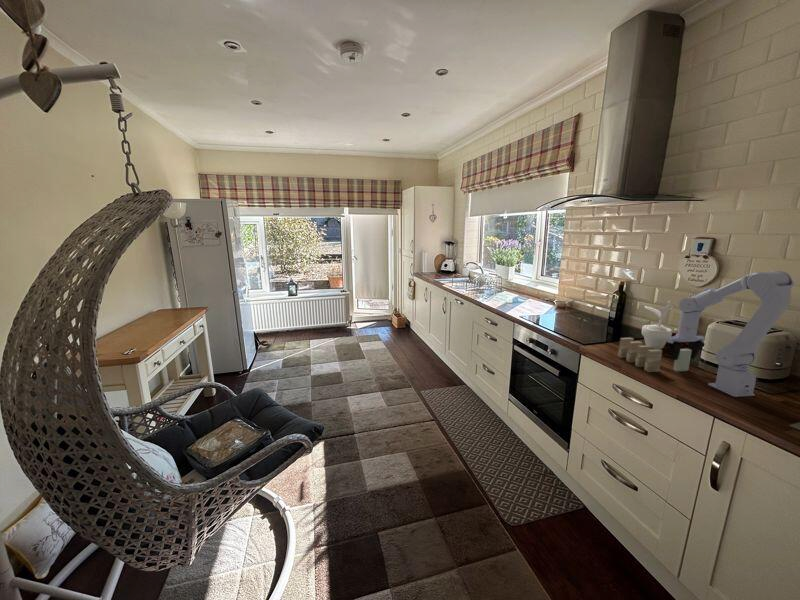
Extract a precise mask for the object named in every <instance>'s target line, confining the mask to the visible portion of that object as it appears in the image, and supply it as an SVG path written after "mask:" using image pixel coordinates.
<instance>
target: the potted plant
mask: <svg viewBox="0 0 800 600" xmlns="http://www.w3.org/2000/svg"><path fill="white" fill-rule="evenodd" d="M665 302H667V305H665V306H663V307H662V309H661V310H660V309H656V307H655V308H654V307H651V306H647V305H644V309H646V310H648V311H650V312H651V313H652V314H653V315H654V317H657V318H658V319H659V320H658V323H657V324H655V323H654V324H645V325H642V326H641V327H642V328H641V335H642V336H643V339H644V343H645V345H650V346H652V349H659V350H662V349H663V348H665V345H667V343H666V341H667V338H668V337H673V336H672V335H673V329H672V328H670V327H666V326H664V325H663V324H662V323H663V320H664V317H666V316H667V315H669V314H668V313H669V307H671V309H673V308H674V306H673V304H672V301H671V298H670V297H669V298H668V300H667V301H666V300H665ZM670 303H671V304H670Z"/></svg>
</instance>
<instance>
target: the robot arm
mask: <svg viewBox="0 0 800 600" xmlns="http://www.w3.org/2000/svg"><path fill="white" fill-rule="evenodd" d="M795 284H796V283H795V282H794V280H793V278H792V276H791V275H790V273H788V272H786V271H783V270H775V271H774V270H773V271H757V272H753V273H750V274H747V275H744V276H742V277H741V278H739V279H737V280H734V281H732V282H729V283H728V284H726V285H723V286H722V287H720V288H713V287H712V288H711V287H709V288H704V290H703V291H702V292H700V293H694V294H692V296H691V297H683V298H682V299H680V301H679V303H678V308H679V309H680V312H681V313H680V317H679V324H678V329H677V333H676V334H675V335H673V336H671V337H668V338H667V341H666V345H667V346H668V349H669V353H670V355H669V356H670V359H672V360H674V361H675V360H677V358H678V355H679V352H680V350H681V349H683V344H680V343H687V345H688V346H687V349H690V350H692V352H691V358H690V360H694V359H695V358H696V357H697V354H698V353H699V351H700V350H701V349H702V348H703V347H705V345H706V343H704V342H705V339H706V337H705V336H702V335H697V333H698V328H699V322H700V318H701V315H702V312H703V311H704V310H706V308H709V307H713V306H714V305H717V304H719V303H721V302H723V301H724V298H725V297H727V296H730V295H734V294H736V293H739V292H742V291H745V290H751V292H753V293H754V295H756V296H757V298H759V299H760V301H761V305H760V306H759V307H758V309H757V310H756V311H755V313H754V314H753V315H752V316H751V318H750V319H749V320H748V322H747V323H746V324H745V326H744V327H743V328H742V330H740V333H739V334H738V335H737V336H736V338H734V340H733V341H731V342H729V343H727V344H726V345H725V346H724V347H723V348H721V349H718V350H717V352H716V353H715V355H714V357H715V360H716V363H718V368H717V373H716V374H717V375H716V379H715V382H709V383H708V386H710V387H712V388H714V389H716V390H719V391H720V392H723V393H726V394H727V395H730V396H732V397H734V398H735V397H736V398H737V397H754V396H755V395H756V394H755V393H754V390H755V386H756V383H757V382H756V381H757V377H756V375H755V374H754V373H751V372H750V371H749V370H748V368H749V366H750V365H752V364H754V362H755V361H756V355H757V353H758V352H759V350H758V348H757V346H758V345H759V344H760V342H761V341H762V340H763V338H764V337H765V336H766V335H767V334H768V332H769V331H770V330H771V329H772V327H773V326H775V324H776V322H777V321H778V320H779V319H780V318H781V317H782V315H783V314H784V312H785V311H786V310H787V309H788V307H789V306H790V304H791V298H792V289H793V286H794V285H795Z"/></svg>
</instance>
